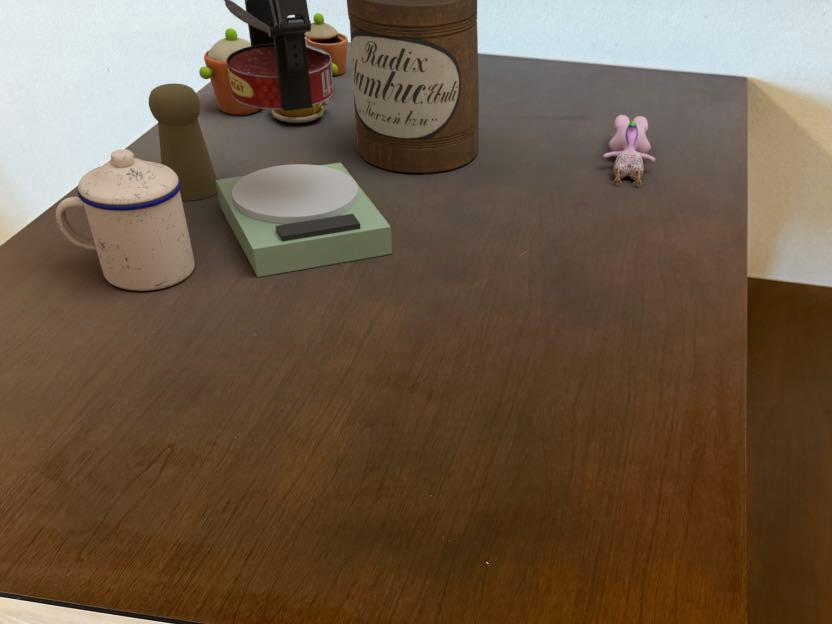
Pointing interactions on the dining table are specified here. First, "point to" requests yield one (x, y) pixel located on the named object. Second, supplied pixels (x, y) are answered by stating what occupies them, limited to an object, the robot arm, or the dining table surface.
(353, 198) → the kitchen scale
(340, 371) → the dining table surface
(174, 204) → the teacup with lid
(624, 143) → the pink plush toy
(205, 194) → the pepper mill
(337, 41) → the toy tea set
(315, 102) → the canned food
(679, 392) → the dining table surface
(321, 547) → the dining table surface
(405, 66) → the wooden container
